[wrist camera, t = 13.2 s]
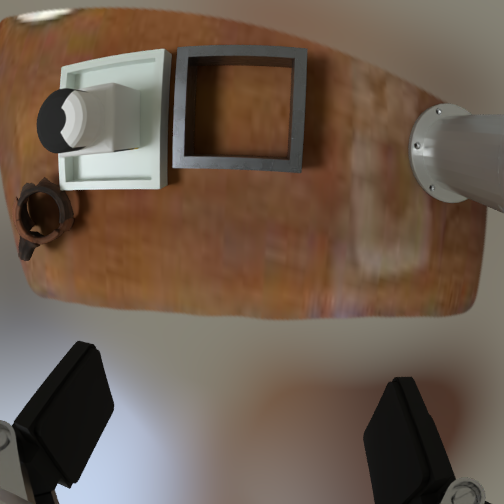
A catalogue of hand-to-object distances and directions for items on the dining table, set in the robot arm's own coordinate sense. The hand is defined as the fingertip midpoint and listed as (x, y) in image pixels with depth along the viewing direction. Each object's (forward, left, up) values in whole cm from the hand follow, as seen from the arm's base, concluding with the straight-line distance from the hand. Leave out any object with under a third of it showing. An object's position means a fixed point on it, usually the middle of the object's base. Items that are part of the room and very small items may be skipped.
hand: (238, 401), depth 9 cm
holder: (+3, -11, -29) cm, 31 cm away
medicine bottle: (+18, -10, -29) cm, 35 cm away
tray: (+18, -10, -29) cm, 36 cm away
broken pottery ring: (+30, +2, -30) cm, 42 cm away
